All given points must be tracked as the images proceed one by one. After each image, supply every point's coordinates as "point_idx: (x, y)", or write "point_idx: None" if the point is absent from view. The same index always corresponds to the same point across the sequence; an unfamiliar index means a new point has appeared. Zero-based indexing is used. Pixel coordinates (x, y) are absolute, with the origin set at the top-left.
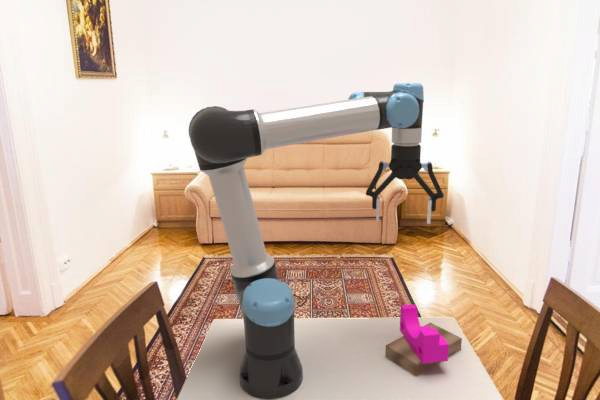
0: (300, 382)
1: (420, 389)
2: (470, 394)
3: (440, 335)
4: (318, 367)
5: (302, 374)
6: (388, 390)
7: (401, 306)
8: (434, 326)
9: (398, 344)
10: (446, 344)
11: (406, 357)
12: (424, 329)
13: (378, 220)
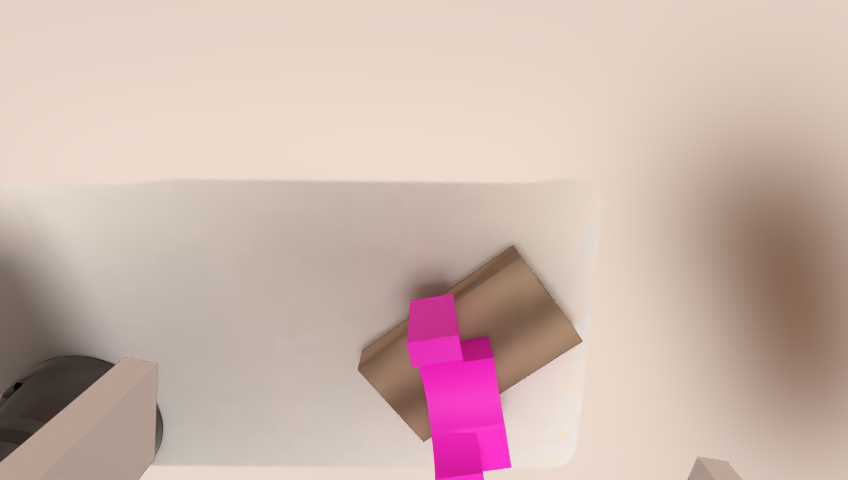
0: (158, 443)
1: (422, 454)
2: (523, 468)
3: (503, 430)
4: (194, 386)
5: (156, 430)
6: (353, 456)
7: (408, 349)
8: (525, 280)
9: (393, 366)
10: (504, 467)
11: (403, 418)
12: (449, 478)
13: (142, 469)
